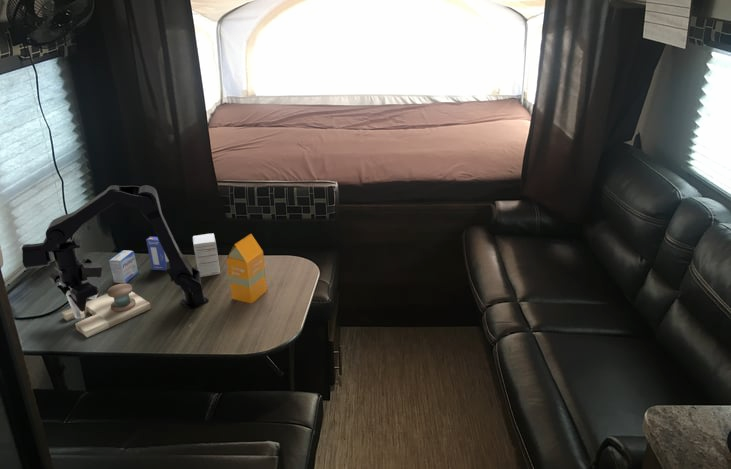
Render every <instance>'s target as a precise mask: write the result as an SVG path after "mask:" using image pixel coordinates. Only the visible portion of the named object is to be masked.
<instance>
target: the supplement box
mask: <svg viewBox="0 0 731 469" xmlns="http://www.w3.org/2000/svg"><path fill="white" fill-rule="evenodd" d="M192 243H193V250H194V256H195V261H196V269H197V270H198V271H200V278H202V277H208V276H214V275H215V276H216V275H219V274H221V268H220V263H219V261H220V260H219V255H218V248H217V242H216V238H215V234H214V232H213V233H205V234H198V235H193V236H192Z"/></svg>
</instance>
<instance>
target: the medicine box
mask: <svg viewBox="0 0 731 469" xmlns="http://www.w3.org/2000/svg"><path fill="white" fill-rule="evenodd" d="M108 262H109V267H110V270H111V275H112V277H113V278H112V279H113V282H114V283H116V284H128V283H129V281H130V280H132V279H133V278H134V277H135V276H136V275H137V274H139V269H138V265H137V261H136V256H135V251H133V250H125V249H124V250H121V251H120V252H118V254H116V255H115V256H114V257H112V258H110V260H108Z"/></svg>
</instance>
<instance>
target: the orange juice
mask: <svg viewBox="0 0 731 469" xmlns="http://www.w3.org/2000/svg"><path fill="white" fill-rule="evenodd" d="M264 256H265V255H264V250H263V249H262V248H261V246H260V245H259V243H258V242H257V240H256V239H255V237H254V236H253V234H252V233H250V234H248V235H246V236H245V237H243V238H242V239H240V240H239V241H237V242H236V243H234V245H233V246H232V248H231V250H230V251H229V253H228V255H227V257H226V263H227V264H226V265H227V269H228V270H227V271H228V279H229V285H230V286H229V287H230V293H231V299H232V300H236V301H239V302H243V303H246V304H247V303H248V304H253V303H254V302H255V301H257V300H258V299H259V298H260V297H261V296H263V295H264V294H265V293H266V292H267V291H268V287H267V285H268V284H267V276H266V266H265V257H264Z"/></svg>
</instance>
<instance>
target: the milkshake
mask: <svg viewBox="0 0 731 469" xmlns="http://www.w3.org/2000/svg"><path fill="white" fill-rule="evenodd" d="M71 290H72V289H70V290H68V291H67V293H66V296H65V298H66V299H67V301H68V303H69V305H70V309H71V308H72V311H73V313H74V316H75V318H74V319H77V320H81V319H82V320H83V319H85V317H87V314H88V313H86V308H85V311H83V312H82V311H80V309H79V308H78V307H77V306H76V305H75V303H74V302H73V301H72V300H71V299H70V297H69V296H68V295H70V294H71V293H70V292H71Z"/></svg>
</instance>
